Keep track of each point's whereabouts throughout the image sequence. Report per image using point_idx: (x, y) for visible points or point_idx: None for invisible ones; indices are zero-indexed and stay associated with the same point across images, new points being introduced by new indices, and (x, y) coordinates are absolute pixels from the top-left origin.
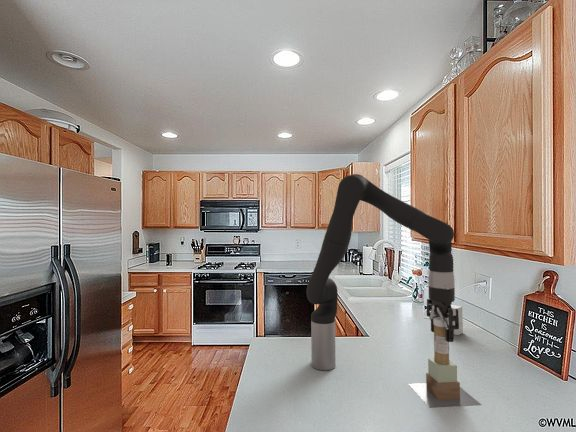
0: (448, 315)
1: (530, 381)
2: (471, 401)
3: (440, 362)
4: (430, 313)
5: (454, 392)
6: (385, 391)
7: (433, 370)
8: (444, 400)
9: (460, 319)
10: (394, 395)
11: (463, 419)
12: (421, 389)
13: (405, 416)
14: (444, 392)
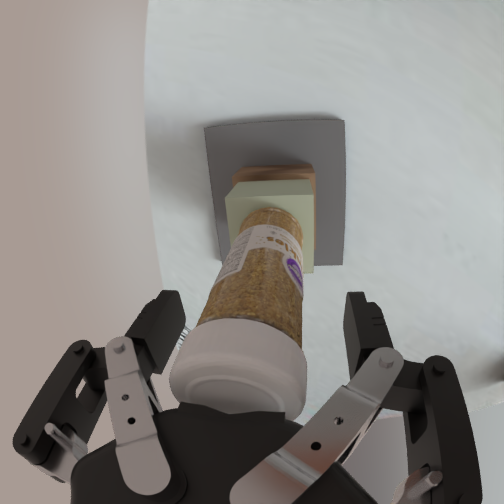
0: (50, 416)
1: (322, 395)
2: None
3: (244, 220)
4: (366, 402)
5: None
6: (316, 42)
7: (268, 187)
8: None
9: None
10: (292, 59)
11: (176, 195)
12: (307, 146)
13: (184, 60)
14: None
